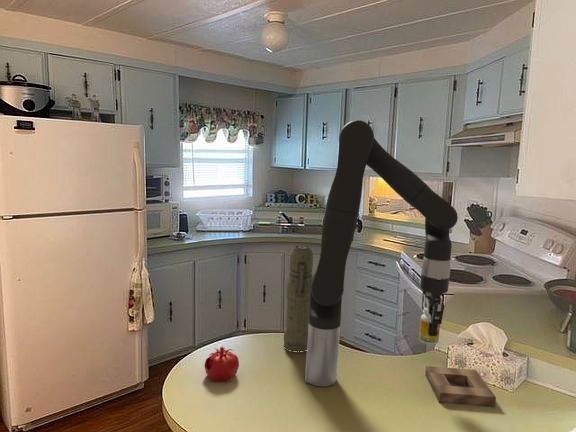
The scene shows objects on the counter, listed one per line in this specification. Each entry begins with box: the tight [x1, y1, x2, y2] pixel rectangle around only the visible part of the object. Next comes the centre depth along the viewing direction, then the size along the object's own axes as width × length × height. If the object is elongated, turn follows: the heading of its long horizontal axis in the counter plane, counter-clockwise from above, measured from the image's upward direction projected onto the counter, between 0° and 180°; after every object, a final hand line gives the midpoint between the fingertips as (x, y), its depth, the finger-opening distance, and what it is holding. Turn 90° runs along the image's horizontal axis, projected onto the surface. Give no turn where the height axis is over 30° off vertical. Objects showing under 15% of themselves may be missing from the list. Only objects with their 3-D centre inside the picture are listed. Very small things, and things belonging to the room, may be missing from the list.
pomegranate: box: [204, 346, 240, 383], centre depth 127 cm, size 10×10×9 cm
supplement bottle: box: [418, 307, 441, 346], centre depth 124 cm, size 5×5×10 cm
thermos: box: [283, 245, 314, 352], centre depth 146 cm, size 9×12×35 cm
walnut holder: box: [425, 365, 497, 408], centre depth 127 cm, size 15×15×3 cm
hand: (429, 331), depth 124 cm, fingers closed on supplement bottle, 5 cm apart
